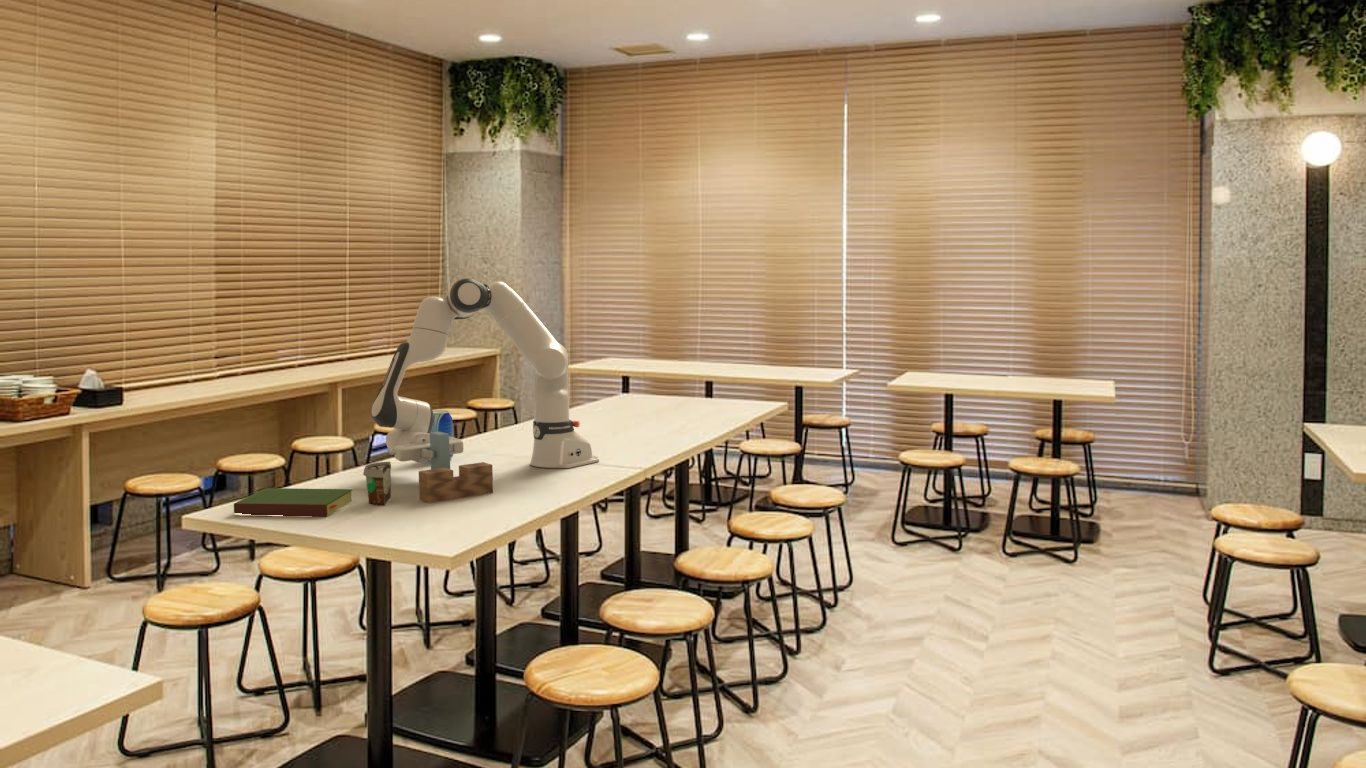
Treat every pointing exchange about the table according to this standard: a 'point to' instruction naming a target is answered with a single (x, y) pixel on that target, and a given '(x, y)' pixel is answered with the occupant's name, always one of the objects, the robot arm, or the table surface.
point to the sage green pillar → (440, 450)
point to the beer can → (443, 423)
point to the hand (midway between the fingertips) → (441, 453)
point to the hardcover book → (294, 502)
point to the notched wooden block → (455, 482)
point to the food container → (378, 482)
